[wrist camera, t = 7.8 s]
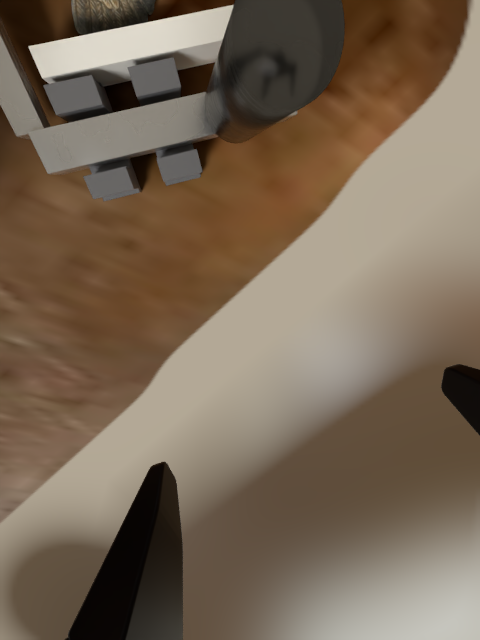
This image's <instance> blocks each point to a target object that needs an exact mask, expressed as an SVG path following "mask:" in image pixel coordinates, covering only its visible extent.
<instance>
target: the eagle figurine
mask: <svg viewBox="0 0 480 640" xmlns="http://www.w3.org/2000/svg"><path fill="white" fill-rule="evenodd" d="M71 1H72V2H71V5H72V15H73V19H74V26H75V28H76V31H77V32H78V33H80V34H82V35H87V34H92V33H97V32H102V31H107V30H111V29H116V28H121V27H126V26H131V25H136V24H141V23H146V22H148V14H150V15H151V14H152V13H153V11H154V4H155V0H71Z"/></svg>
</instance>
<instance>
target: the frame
mask: <svg viewBox="0 0 480 640" xmlns="http://www.w3.org/2000/svg"><path fill="white" fill-rule="evenodd" d="M233 6H234V5H230V6H225V7H220V8H215V9H210V10H205V11H201V12H196V13H191V14H186V15H181V16H176V17H171V18H166V19H161V20H156V21H151V22H146V23H141V24H136V25H131V26H126V27H121V28H116V29H111V30H107V31H102V32H97V33H92V34H87V35H82V36H77V37H72V38H67V39H62V40H57V41H52V42H47V43H42V44H37V45H32V46H28V47H29V50H30V52H31V54H32V56H33V59H34V61H35V63H36V66H37V68H38V70H39V72H40V75H41V77H42V79H44V80H45V81H46V82H47V83H49V84H51V83H56V82H61V81H65V80H70V79H75V78H79V77H84V76H89V75H92V76H93V77H94V78H95V80H96V81H97V82H98V83H101V84H102V86H103V87H104V86H108V85H113V84H118V83H122V82H127V81H131V77H130V74H129V71H128V68H127V67H131V66H135V65H140V64H145V63H149V62H154V61H159V60H163V59H168V58H173V57H174V61H175V65H176V69H177V70H182V69H186V68H191V67H196V66H200V65H205V64H209V63H214V62H216V59H217V56H218V53H219V50H220V47H221V44H222V40H223V37H224V34H225V31H226V28H227V25H228V22H229V19H230V16H231V12H232V9H233Z"/></svg>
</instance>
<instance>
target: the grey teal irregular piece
mask: <svg viewBox="0 0 480 640" xmlns="http://www.w3.org/2000/svg"><path fill="white" fill-rule="evenodd" d="M344 26H345V24H344V12H343V6H342V1H341V0H235V3H234V6H233V9H232V12H231V16H230V19H229V22H228V25H227V28H226V31H225V34H224V37H223V40H222V44H221V47H220V50H219V53H218V56H217V59H216V62H215V65H214V68H213V72H212V75H211V78H210V81H209V84H208V87H207V90H206V92H203V93H198V94H194V95H190V96H185V97H181V98H176V99H172V100H167V101H163V102H159V103H154V104H150V105H145V106H141V107H137V108H132V109H128V110H123V111H119V112H114V113H110V114H106V115H101V116H97V117H92V118H88V119H83V120H79V121H75V122H70V123H66V124H61V125H57V126H53V127H50V124H49V122H48V120H47V118H46V116H45V113H44V111H43V109H42V107H41V105H40V102H39V100H38V98H37V96H36V94H35V92H34V89H33V87H32V85H31V83H30V81H29V78H28V76H27V74H26V72H25V70H24V67H23V65H22V63H21V61H20V59H19V57H18V54H17V52H16V50H15V48H14V46H13V43H12V41H11V39H10V37H9V35H8V32H7V30H6V28H5V26H4V24H3V22H2V19H1V17H0V105H1V107H2V109H3V111H4V113H5V115H6V117H7V119H8V121H9V122H10V124H11V126H12V128H13V130H14V132H15V134H16V136H17V137H20V138H24V139H27V140H28V139H31V140H32V142H33V144H34V146H35V148H36V150H37V152H38V154H39V156H40V158H41V160H42V163H43V165H44V167H45V169H46V171H47V173H48V174H57V175H62V174H67V173H71V172H75V171H79V170H83V169H87V168H91V167H96V166H100V165H104V164H108V163H112V162H116V161H121V160H125V159H129V158H133V157H137V156H141V155H145V154H150V153H154V152H158V151H162V150H166V149H170V148H175V147H179V146H183V145H187V144H191V143H195V142H200V141H204V140H208V139H212V138H216V137H220V138H221V139H223V140H225V141H227V142H230V143H242V142H245V141H247V140H249V139H250V138H252V137H254V136H255V135H257V134H259V133H260V132H262V131H264V130H265V129H267V128H269V127H270V126H272V125H274V124H275V123H279V122H283V121H286V120H288V119H290V118H292V117H293V116H295V115H297V110H299V109H300V108H302V107H304V106H305V105H307V104H309V103H310V102H312V101H313V100H315V99H316V98H317V97H318V96H319V95H320V94H321V93H322V92H323V91H324V90H325V88H326V87H327V86H328V84H329V83H330V81H331V79H332V77H333V76H334V74H335V72H336V69H337V67H338V64H339V61H340V57H341V54H342V49H343V42H344Z"/></svg>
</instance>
